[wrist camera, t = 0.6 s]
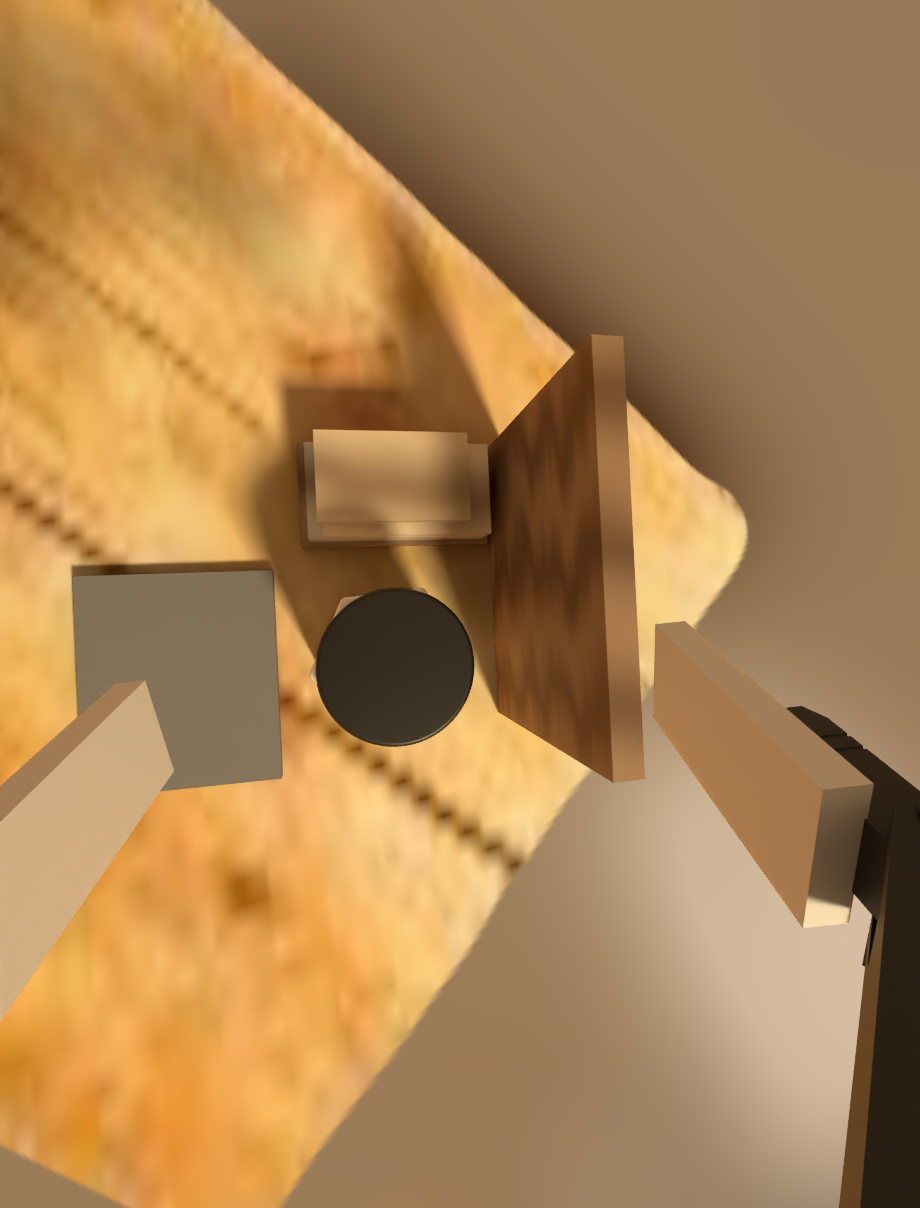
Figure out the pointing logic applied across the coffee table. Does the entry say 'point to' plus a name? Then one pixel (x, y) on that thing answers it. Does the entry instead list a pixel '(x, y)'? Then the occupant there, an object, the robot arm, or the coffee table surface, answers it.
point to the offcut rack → (519, 544)
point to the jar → (394, 666)
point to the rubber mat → (189, 665)
